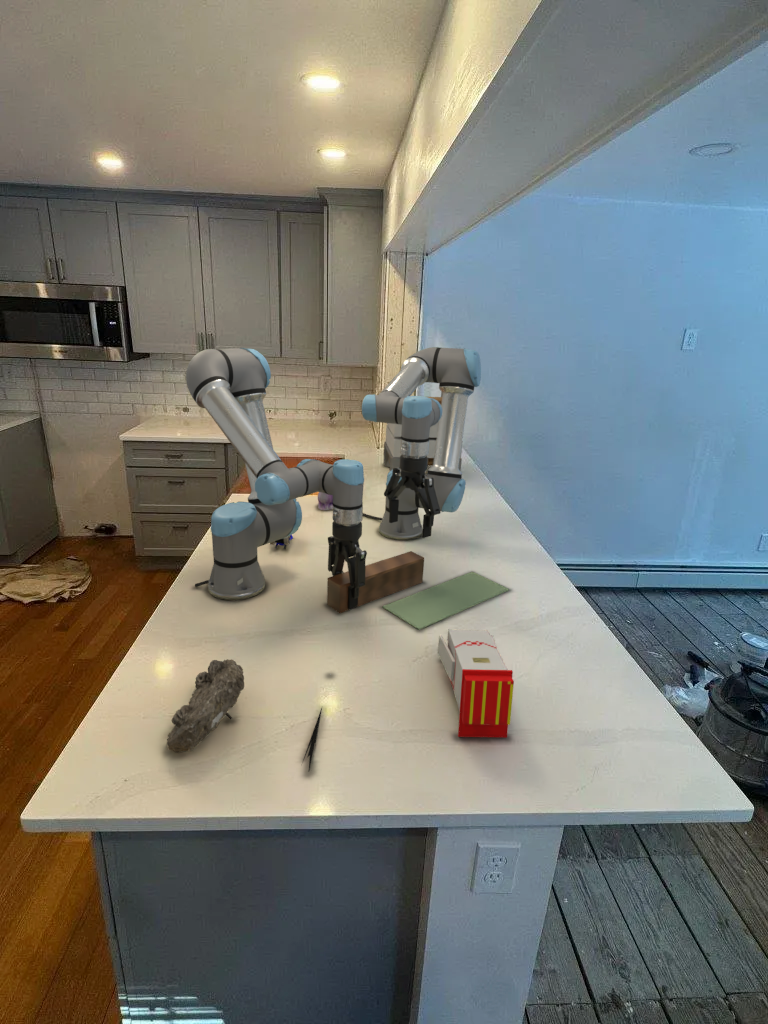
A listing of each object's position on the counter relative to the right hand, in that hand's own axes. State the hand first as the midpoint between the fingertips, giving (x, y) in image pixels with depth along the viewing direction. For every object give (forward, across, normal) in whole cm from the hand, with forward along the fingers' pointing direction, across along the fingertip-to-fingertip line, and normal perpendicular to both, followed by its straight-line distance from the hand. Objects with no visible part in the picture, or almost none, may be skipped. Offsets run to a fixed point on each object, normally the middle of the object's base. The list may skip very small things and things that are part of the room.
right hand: (409, 529), depth 159 cm
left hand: (+16, 0, -22) cm, 27 cm away
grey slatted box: (+17, -82, +84) cm, 119 cm away
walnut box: (+17, 0, -11) cm, 20 cm away
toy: (+17, +45, -23) cm, 53 cm away
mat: (+17, +14, +3) cm, 22 cm away
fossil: (+17, +20, -68) cm, 73 cm away
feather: (+17, +33, -53) cm, 64 cm away
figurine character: (+17, -45, -14) cm, 50 cm away
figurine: (+17, -66, +19) cm, 71 cm away
